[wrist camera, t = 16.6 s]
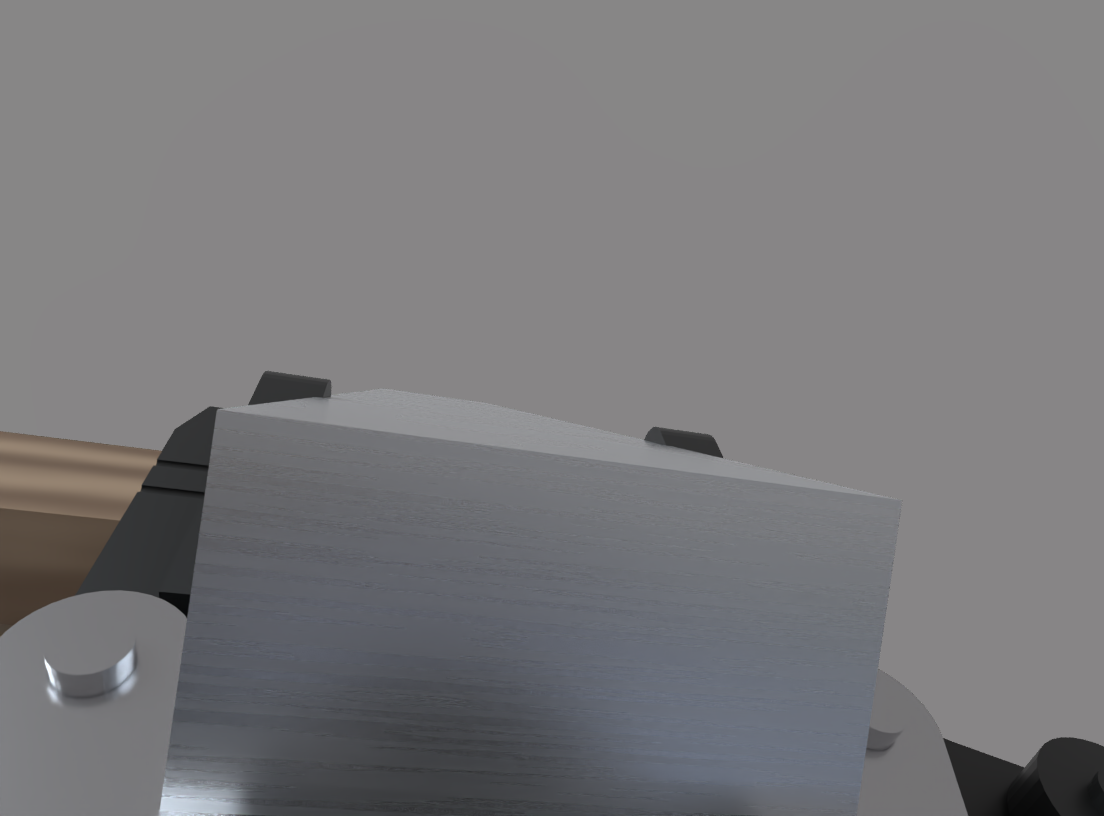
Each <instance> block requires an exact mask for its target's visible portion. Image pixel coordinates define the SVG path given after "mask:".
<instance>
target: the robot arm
mask: <svg viewBox="0 0 1104 816" xmlns="http://www.w3.org/2000/svg"><path fill="white" fill-rule="evenodd" d="M312 397H319V398H327V397H331V381H330V380H327V379H320V378H313V377H306V376H299V375H292V374H285V373H278V372H271V371H265V372H264V374H263V375H262V377H261V379H260V381H259V383H258V385H257V388H256V390H255V392H254V394H253V396H252V398H251V400H250V402H249V404H248V405H256V404H264V403H272V402H280V401H288V400H296V399H304V398H312ZM217 409H224V408H218V407H209V408H207V409H205V410H204V411H202V412H201V413H199V414H198V415H196V416H195V417H193V418H192V419H190V420H189V421H187V422H185V423H184V424H182V425H181V426H179V427H178V428H176V429H175V430H174V432H173V434H172V435H171V437H170V439H169V440H168V442H167V444H166V445H165V447H164V449H163V450H162V452H161V453H160V455H159V457H158V458H157V464H156V466H154V465H153V467H152V468H151V470H150V472H149V473H148V475H147V477H146V478H145V480H144V482H143V483H142V487H141V491H140V492H137V493H136V495H135V497H134V498H133V500H132V502H131V503H130V505H129V507H128V508H127V510H126V512H125V513H124V515H123V517H122V518H121V520H120V522H119V523H118V525H117V526H116V528H115V530H114V531H113V533H112V535H111V536H110V538H109V540H108V541H107V543H106V545H105V546H104V548H103V550H102V551H101V553H100V555H99V556H98V558H97V560H96V561H95V563H94V565H93V566H92V568H91V570H90V571H89V573H88V575H87V576H86V578H85V580H84V581H83V583H82V585H81V586H80V588H79V590H78V591H77V593H76V594H75V596H72V597H68V598H65V599H62V600H60V601H57V602H54V603H51V604H49V605H47V606H45V607H43V608H41V609H38V610H36V611H34V612H33V613H31V614H29V615H28V616H26V617H25V618H23V619H21V620H20V621H18V622H17V623H16V624H14V625H13V626H12V627H11V628H9V629H8V630H7V631H6V632H5V633H4V634H3V635H2V636H1V637H0V816H159V812H160V805H161V798H162V791H163V784H164V777H165V770H166V763H167V756H168V749H169V742H170V735H171V728H172V721H173V714H174V707H175V700H176V693H177V686H178V679H179V672H180V665H181V658H182V651H183V644H184V637H185V630H186V623H187V616H188V609H189V602H190V595H191V588H192V581H193V574H194V567H195V560H196V553H197V546H198V539H199V532H200V525H201V518H202V511H203V504H204V497H205V490H206V483H207V476H208V469H209V462H210V455H211V448H212V441H213V434H214V427H215V420H216V413H217ZM644 441H649V442H653V443H657V444H661V445H666V446H672V447H677V448H681V449H685V450H690V451H694V452H698V453H702V454H707V455H711V456H715V457H720V458H723V456H722V454H721V452H720V450H719V447H718V445H717V443H716V441H715V439H714V438H713V437H712V436H711V435H708V434H701V433H694V432H687V431H680V430H673V429H666V428H659V427H653V428H652V429H651V430H650V431H649V432H648V434H647V435H646V437H645V439H644ZM856 816H1104V747H1103V746H1101V745H1099V744H1096V743H1093V742H1089V741H1086V740H1083V739H1077V738H1057V739H1052V740H1050V741H1049V742H1047V743H1045V744H1044V745H1043V746H1042V748H1041V749H1040V750H1039V751H1038V752H1037V754H1036V755H1035V756H1034V757H1033V758H1032V760H1031V761H1030V762H1029V763H1028V764H1027V766H1026V767H1025V768H1024V767H1021V766H1019V765H1016V764H1013V763H1010V762H1007V761H1005V760H1002V759H999V758H996V757H993V756H990V755H987V754H985V753H982V752H979V751H977V750H974V749H971V748H968V747H966V746H963V745H960V744H957V743H954V742H952V741H949V740H947V739H944V738H943V737H942V734H941V732H940V730H939V727H938V726H937V724H936V722H935V721H934V719H933V717H932V716H931V714H930V713H929V712H928V710H927V709H926V708H925V706H924V705H923V704H922V703H921V702H920V701H919V700H918V699H917V697H915V696H914V694H913V693H911V692H910V691H909V690H908V689H907V688H906V687H905V686H904V685H902V684H901V683H900V682H898V681H897V680H896V679H894V678H893V677H891V676H890V675H888V674H887V673H885V672H883V671H881V670H880V669H878V671H877V678H876V685H875V692H874V699H873V706H872V712H871V719H870V726H869V733H868V740H867V747H866V754H865V761H864V767H863V774H862V781H861V788H860V795H859V802H858V809H857V815H856Z"/></svg>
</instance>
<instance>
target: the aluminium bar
mask: <svg viewBox="0 0 1104 816" xmlns="http://www.w3.org/2000/svg"><path fill="white" fill-rule="evenodd" d="M901 506H902V500H899V499H894V498H891V497H886V496H882V495H878V494H873V493H869V492H865V491H861V490H856V489H852V488H848V487H844V486H839V485H834V484H831V483H826V482H822V481H818V480H813V479H809V478H805V477H800V476H796V475H792V474H787V473H783V472H779V471H775V470H771V469H767V468H762V467H758V466H754V465H749V464H745V463H740V462H736V461H732V460H728V459H724V458H720V457H715V456H711V455H707V454H702V453H698V452H694V451H690V450H685V449H681V448H677V447H672V446H666V445H661V444H657V443H653V442H649V441H644V440H643V439H638V438H634V437H630V436H625V435H621V434H617V433H612V432H608V431H604V430H600V429H596V428H591V427H587V426H583V425H578V424H574V423H569V422H566V421H561V420H557V419H553V418H548V417H544V416H539V415H536V414H531V413H527V412H523V411H518V410H514V409H510V408H506V407H501V406H497V405H493V404H489V403H482V402H475V401H468V400H460V399H454V398H447V397H440V396H433V395H426V394H419V393H412V392H405V391H398V390H391V389H376V390H368V391H360V392H352V393H344V394H336V395H331V397H327V398H319V397H312V398H304V399H296V400H288V401H280V402H272V403H264V404H256V405H248V406H240V407H232V408H224V409H217V413H216V420H215V427H214V434H213V441H212V448H211V455H210V462H209V469H208V476H207V483H206V490H205V497H204V504H203V511H202V518H201V525H200V532H199V539H198V546H197V553H196V560H195V567H194V574H193V581H192V588H191V595H190V602H189V609H188V616H187V623H186V630H185V637H184V644H183V651H182V658H181V665H180V672H179V679H178V686H177V693H176V700H175V707H174V714H173V721H172V728H171V735H170V742H169V749H168V756H167V763H166V770H165V777H164V784H163V791H162V798H161V805H160V812H159V816H856V815H857V809H858V802H859V795H860V788H861V781H862V774H863V767H864V761H865V754H866V747H867V740H868V733H869V726H870V719H871V712H872V706H873V699H874V692H875V685H876V678H877V671H878V664H879V658H880V651H881V644H882V637H883V630H884V623H885V616H886V609H887V602H888V596H889V589H890V582H891V575H892V567H893V561H894V554H895V547H896V541H897V534H898V527H899V520H900V513H901Z"/></svg>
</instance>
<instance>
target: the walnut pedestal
mask: <svg viewBox="0 0 1104 816" xmlns="http://www.w3.org/2000/svg"><path fill="white" fill-rule="evenodd" d="M161 452H162V451H158V450H150V449H142V448H134V447H125V446H117V445H108V444H101V443H92V442H84V441H75V440H68V439H59V438H51V437H43V436H34V435H26V434H18V433H9V432H1V431H0V637H1V636H2V635H3V634H4V633H5V632H6V631H7V630H8V629H9V628H11V627H12V626H13V625H14V624H16V623H17V622H18V621H20V620H21V619H23V618H25V617H26V616H28V615H29V614H31V613H33V612H34V611H36V610H38V609H41V608H43V607H45V606H47V605H49V604H51V603H54V602H57V601H60V600H62V599H65V598H68V597H72V596H75V594H76V593H77V591H78V590H79V588H80V586H81V585H82V583H83V581H84V580H85V578H86V576H87V575H88V573H89V571H90V570H91V568H92V566H93V565H94V563H95V561H96V560H97V558H98V556H99V555H100V553H101V551H102V550H103V548H104V546H105V545H106V543H107V541H108V540H109V538H110V536H111V535H112V533H113V531H114V530H115V528H116V526H117V525H118V523H119V522H120V520H121V518H122V517H123V515H124V513H125V512H126V510H127V508H128V507H129V505H130V503H131V502H132V500H133V498H134V497H135V495H136V493H137V492H140V491H141V487H142V483H143V482H144V480H145V478H146V477H147V475H148V473H149V472H150V470H151V468H152V467H153V465H154V466H156V464H157V458H158V457H159V455H160V453H161Z"/></svg>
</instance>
